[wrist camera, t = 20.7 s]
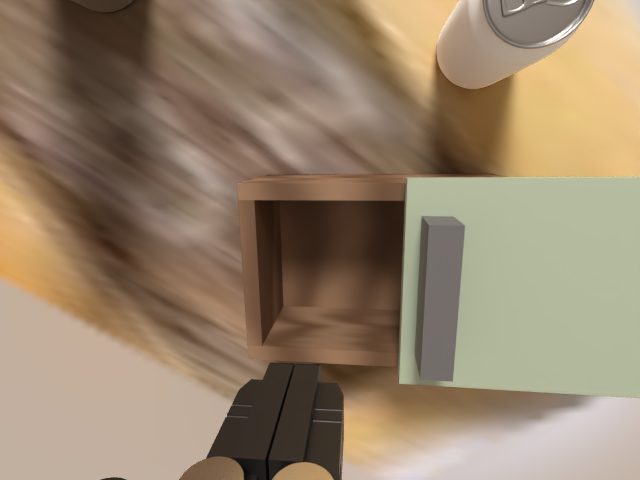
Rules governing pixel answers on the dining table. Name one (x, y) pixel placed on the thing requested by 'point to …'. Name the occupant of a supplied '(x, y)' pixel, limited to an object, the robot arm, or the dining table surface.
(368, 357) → the chest
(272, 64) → the dining table surface
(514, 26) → the can
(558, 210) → the lid
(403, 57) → the dining table surface
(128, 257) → the dining table surface
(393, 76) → the dining table surface
